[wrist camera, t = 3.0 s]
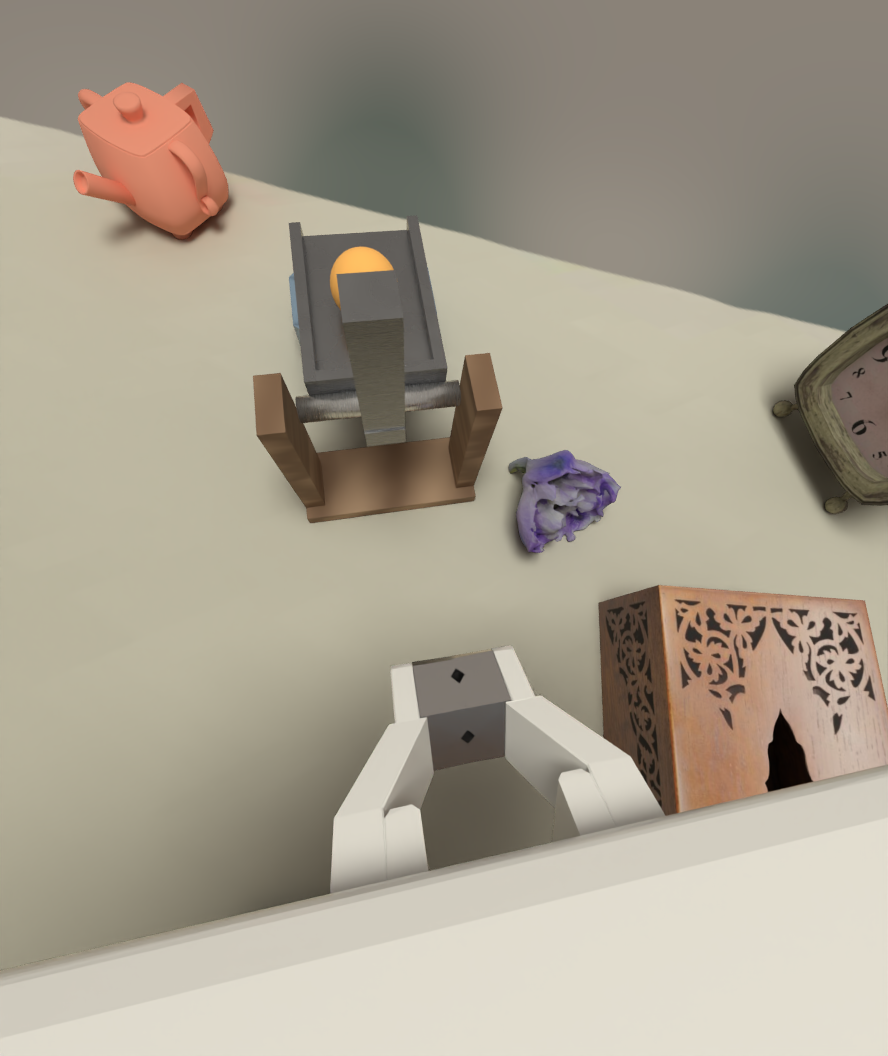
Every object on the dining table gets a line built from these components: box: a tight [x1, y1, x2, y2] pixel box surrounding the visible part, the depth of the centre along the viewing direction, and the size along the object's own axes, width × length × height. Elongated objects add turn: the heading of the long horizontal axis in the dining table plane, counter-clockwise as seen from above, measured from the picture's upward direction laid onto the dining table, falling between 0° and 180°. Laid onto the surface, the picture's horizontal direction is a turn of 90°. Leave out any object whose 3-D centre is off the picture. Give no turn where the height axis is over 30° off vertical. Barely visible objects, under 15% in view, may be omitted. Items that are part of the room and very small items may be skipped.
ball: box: [330, 247, 394, 310], centre depth 26 cm, size 4×4×4 cm
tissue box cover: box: [599, 585, 888, 816], centre depth 31 cm, size 26×14×10 cm, turn 176°
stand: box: [253, 353, 502, 523], centre depth 34 cm, size 15×6×14 cm, turn 100°
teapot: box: [73, 83, 228, 239], centre depth 43 cm, size 12×12×10 cm
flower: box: [509, 450, 621, 553], centre depth 37 cm, size 9×9×10 cm
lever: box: [289, 216, 461, 447], centre depth 25 cm, size 10×15×11 cm, turn 10°
